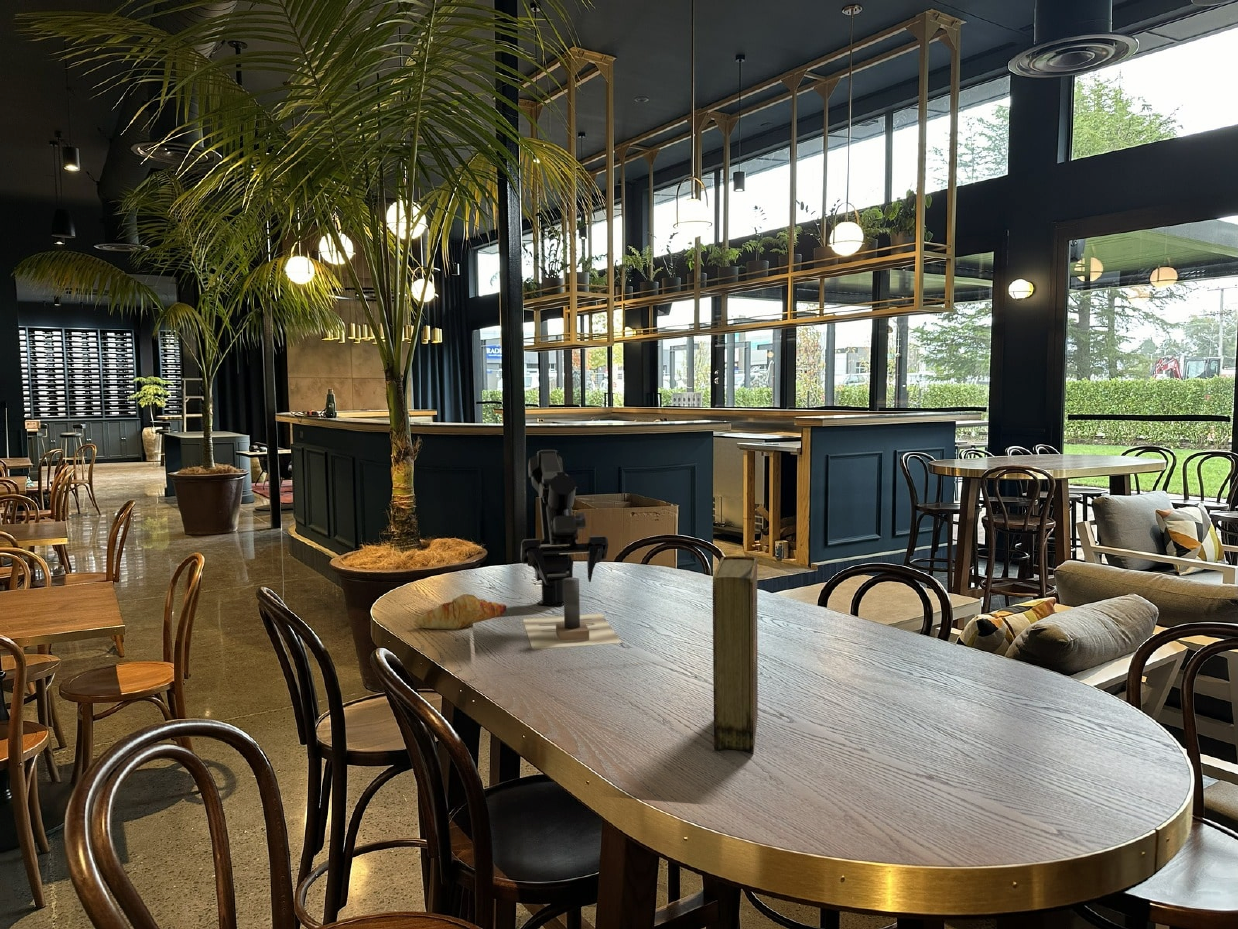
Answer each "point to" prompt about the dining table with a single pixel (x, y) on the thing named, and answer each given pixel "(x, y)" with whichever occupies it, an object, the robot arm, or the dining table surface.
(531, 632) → the birch board
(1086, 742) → the dining table surface
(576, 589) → the grey post on base
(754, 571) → the book
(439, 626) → the croissant
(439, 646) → the dining table surface
